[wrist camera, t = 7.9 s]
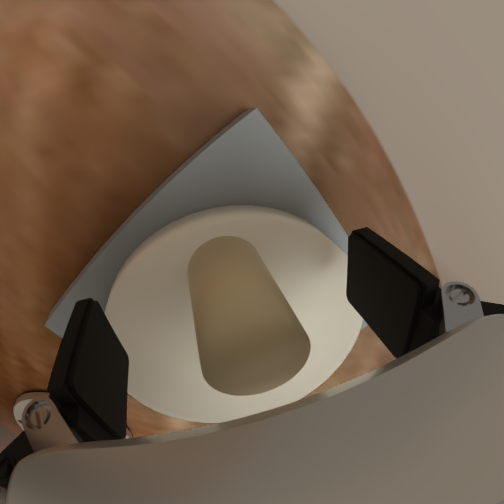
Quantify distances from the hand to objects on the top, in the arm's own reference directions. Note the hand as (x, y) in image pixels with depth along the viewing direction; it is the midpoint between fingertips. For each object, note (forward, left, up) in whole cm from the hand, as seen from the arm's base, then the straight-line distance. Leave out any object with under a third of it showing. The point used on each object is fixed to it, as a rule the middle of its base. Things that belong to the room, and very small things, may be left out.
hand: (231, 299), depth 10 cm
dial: (-2, -4, -4) cm, 6 cm away
